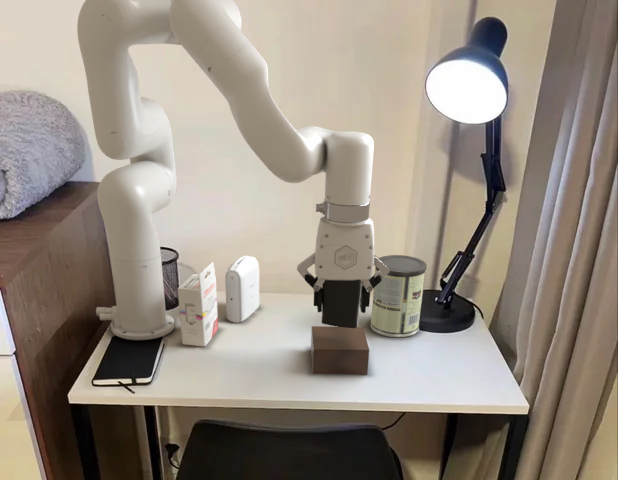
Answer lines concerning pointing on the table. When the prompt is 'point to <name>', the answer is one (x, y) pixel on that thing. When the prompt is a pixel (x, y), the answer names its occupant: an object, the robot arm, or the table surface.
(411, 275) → the coffee can
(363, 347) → the block
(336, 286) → the black rounded block
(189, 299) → the ink cartridge box
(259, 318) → the table surface
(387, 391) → the table surface
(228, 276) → the photo printer
